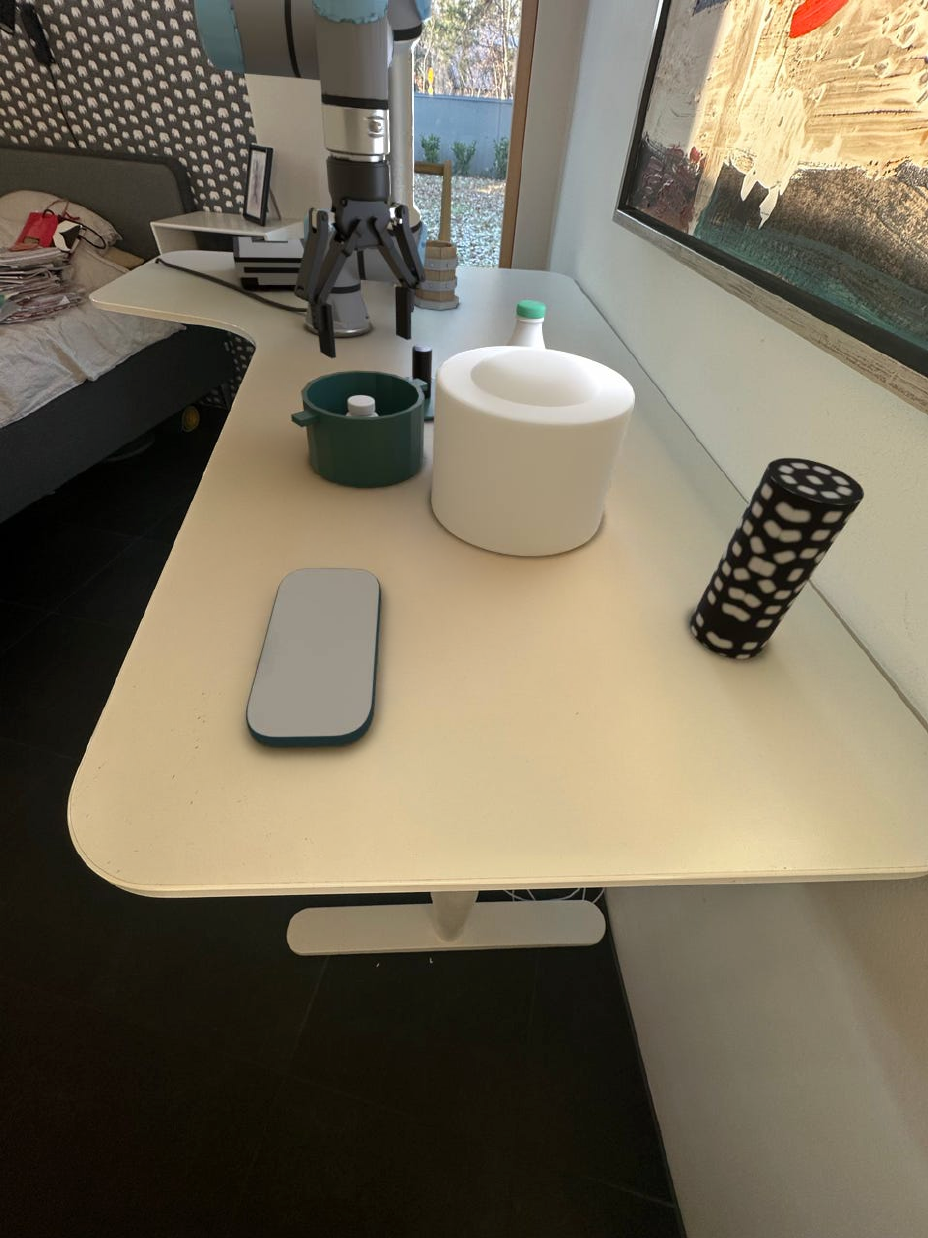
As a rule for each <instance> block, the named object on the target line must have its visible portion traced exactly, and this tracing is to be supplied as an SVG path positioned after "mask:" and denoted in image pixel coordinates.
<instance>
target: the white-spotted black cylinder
mask: <svg viewBox="0 0 928 1238" xmlns="http://www.w3.org/2000/svg"><path fill="white" fill-rule="evenodd" d="M864 496H865V491H864V489H863V487H862V486H861V484H860V483H859V482H858V481H857V480H856V479H855V478H853V477H852V476H850V475H848V474H847V473H845V472H843V471H842V470H840V469H838V468H835V467H833V466H830V465H828V464H825V463H822V462H819V461H815V460H811V459H805V458H798V457H781V458H777V459H774V460H772V461H770V462H769V463H768V465H767V466H766V468H765V470H764V472H763V475H762V476H761V478H760V480H759V482H758V484H757V486H756V488H755V490H754V492H753V494H752V496H751V498H750V499H749V502H748V504H747V505H746V508H745V509H744V512H743V515H742V516H741V518H740V520H739V522H738V524H737V526H736V528H735V530H734V532H733V534H732V536H731V537H730V540H729V541H728V544H727V545H726V548H725V549H724V552H723V554H722V556H721V557H720V560H719V562H718V563H717V566H716V568H715V569H714V571H713V574H712V576H711V577H710V579H709V582H708V583H707V586H706V587H705V589H704V592H703V593H702V595H701V598H700V600H699V601H698V603H697V605H696V608H695V610H694V611H693V613H692V616H691V617H690V621H689V626H690V630H691V632H692V634H693V635H694V637H695V638H696V639H697V640H698V641H699V642H700V643H701V644H702V645H703V646H704V647H705V648H707V649H709V650H711V651H712V652H714V653H716V654H718V655H720V656H724V657H726V658H732V659H738V660H740V659H741V660H743V659H750V658H754V657H756V656H758V655H760V653H761V652H762V651H763V649H764V648H765V646H766V645H767V643H768V642H769V640H770V639H771V637H772V635H774V632H775V631H776V630H777V628H778V626H779V625H780V623H781V622H782V620H783V619H784V618H785V616H786V615H787V613H788V611H789V610H790V609H791V607H792V605H794V603H795V601H796V600H797V598H798V596H799V595H800V593H801V592H802V591H803V589H804V588H805V586H806V585H807V583H808V582H809V580H810V578H812V576H813V574H814V572H815V571H816V569H817V568H818V566H819V565H820V564H821V562H822V560H823V559H824V557H825V556H826V555H827V553H828V552H829V550H830V548H831V547H832V546H833V544H834V543H835V541H836V540H837V538H838V537H839V535H840V534H841V532H842V530H843V529H844V527H846V524H847V523H848V521H849V520H850V519H851V517H852V516H853V515H854V513H855V511H856V509H857V508H858V507H859V505H860V503H861V502H862V500H863V499H864Z"/></svg>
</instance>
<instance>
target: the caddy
mask: <svg viewBox="0 0 928 1238" xmlns="http://www.w3.org/2000/svg"><path fill="white" fill-rule="evenodd" d="M452 166H453V165H452V160H451V159H450V158H446V159H444V162H443V163H438V162H429V161H421V160H420V161H419V160H414V174H422V175H429V176H430V175H431V176H439V177H442V180H441V181H442V182H441V185H442V186H441V199H440V213H439V226H438V239H437V240H439V241H447V242H450V243H451V231H452V230H451V229H452V228H451V227H452V225H451V224H452V223H451V221H452V220H451V219H452V178H453V177H452V176H453V175H452Z"/></svg>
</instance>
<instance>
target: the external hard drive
mask: <svg viewBox="0 0 928 1238" xmlns="http://www.w3.org/2000/svg"><path fill="white" fill-rule="evenodd" d="M381 608H382V588H381V584H380V581H379V578H378V577H377V576H376V575H375V574H374V573H372V572H371V571H369V570H366V569H361V568H343V567H342V568H339V567H332V568H331V567H308V568H307V567H306V568H305V567H304V568H299V569H296V570H294V571H292V572H289V573H288V574H286V576H285V577H283V579H282V580H281V582H280V584H279V585H278V588H277V590H276V594H275V599H274V602H273V605H272V610H271V613H270V617H269V621H268V624H267V628H266V632H265V636H264V640H263V644H262V647H261V652H260V655H259V659H258V662H257V667H256V670H255V674H254V677H253V681H252V684H251V689H250V692H249V696H248V700H247V703H246V704H247V705H246V709H245V721H246V726H247V729H248V732H249V734H250V736H251V737H252V738H253V740H255V741H256V742H257V743H259V744H261V745H263V746H267V747H270V748H318V747H319V748H321V747H323V748H324V747H342V746H347V745H351V744H353V743H356V742H357V741H358V740H360V739H361V738H362V737H364V735H365V734H366V733H367V732H368V731H369V728H370V727H371V725H372V722H373V719H374V716H375V715H374V714H375V706H376V692H377V691H376V690H377V689H376V688H377V675H378V674H377V672H378V659H379V658H378V657H379V640H380V622H381Z"/></svg>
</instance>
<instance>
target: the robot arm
mask: <svg viewBox="0 0 928 1238" xmlns="http://www.w3.org/2000/svg"><path fill="white" fill-rule="evenodd" d="M193 7H194V14H195V21H196V25H197V30H198V34H199V38H200V42H201V45H202V48H203V51H204V53H205V55H206V57H207V59H208V61H209V62H210V63H211V65H212V66H213V67H215V68H216V69H217V70H220V71H227V72H231V73H232V72H234V73H237V74H239V75H240V76H244V75H256V76H266V77H267V76H268V77H278V78H279V77H280V78H292V79H293V78H294V79H300V80H309V81H310V80H311V81H319V83H320V98H321V99H320V101H321V115H322V116H321V117H322V130H323V145H324V149H326V150H327V151H328V152H329V154H330V155H328V156H327V159H325V164H326V176H327V188H328V193H329V196H330V200H331V206H330V207H329V208H327V207H326V208H321V209H319V208H316V207H314V206H313V207H310V208H309V210H308V212H307V214H305V216H304V218H303V238H304V242H305V248H304V253H303V257H302V261H301V265H300V269H299V273H298V277H297V282H296V286H295V290H293V291H294V295H295V297H296V298H298V299H300V300H302V301H305V302H306V303H307V307H295V306H291V305H287V304H283V303H279V302H277V301H274V300H270V299H268V298H265V297H263V296H261V295H259V294H257V293H255V292H252V291H251V290H246V289H243V287H241V286H238V285H236V284H234V283H231V282H229V281H227V280H224V279H221V278H219V277H215V276H212V275H211V274H206V273H204V272H201V271H197V270H194V269H191V268H187V267H183V266H180V265H176V264H172V263H169V262H166V261H165V260H163V259H162V258H160V257H156V258H155V261H154V263H155V264H159V263H160V264H162V265H164V266H165V267H167V268H170V269H171V268H172V269H174V270H179V271H181V272H185V273H189V274H192V275H196V276H199V277H202V278H205V279H208V280H211V281H215V282H217V283H219V284H222V285H225V286H227V287H229V288H232V289H234V290H237V291H239V292H242V293H243V294H246V295H248V296H249V297H252V298H255V299H257V300H259V301H261V302H263V303H266V304H269V305H271V306H274V307H277V308H280V309H284V310H287V311H291V312H295V313H306V314H305V327H306V329H307V330H308V331H309V332H311V333H313V334H316V335H317V336H318V345H319V352H320V353H321V354H323V355H324V356H327V358H330V359H335V358H337V351H336V341H335V338H352V337H358V336H361V335H365V334H368V332H370V331H371V329H372V326H371V316H370V315H369V312H368V308H367V306H366V302H365V300H364V296H363V294H362V284H361V283H362V282H361V281H369V282H379V283H381V282H382V283H395V284H396V283H400V284H401V285H402V287H400V286H397V285H396V286H395V287H394V293H395V294H394V296H395V297H394V299H395V300H394V301H395V335H396V336H398V337H400V338H402V339H403V340H406V341H409V340H412V313H414V311H415V304H414V290H416V291H417V290H419V288H420V282H425V280H426V274H425V271H424V268H423V265H424V258H425V249H426V240H428V239H427V238H428V224H427V222H424V220H423V221H422V213H421V211H420V209H419V208H418V207H417V206H416V204H415V197H414V196H415V176H414V175H415V173H414V161H415V160H414V159H415V157H414V156H415V155H414V154H415V151H414V149H415V148H414V147H415V146H414V144H415V143H414V141H415V140H414V138H415V137H414V135H415V134H414V132H415V131H414V48H415V46H416V44H417V43H418V42H419V40H420V39H421V37H422V36H423V23H426V22H427V21H430V20H431V17H432V0H193Z"/></svg>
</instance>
